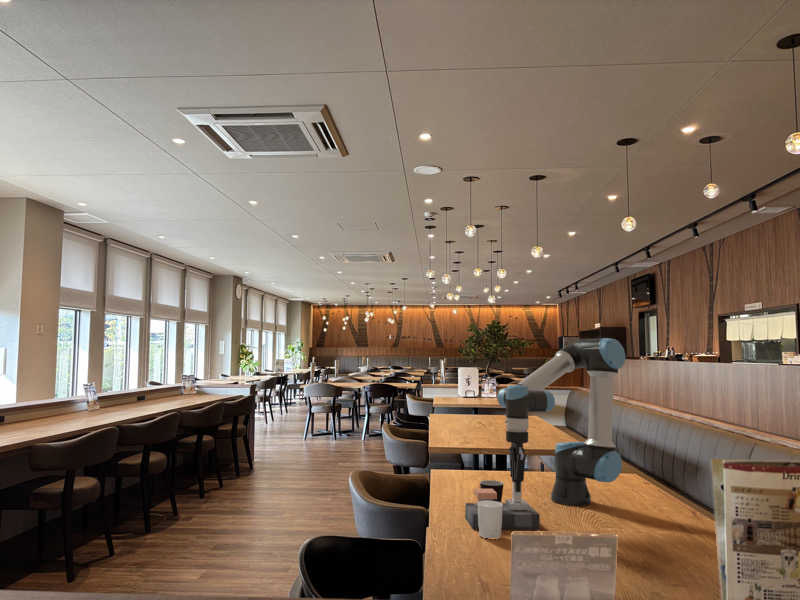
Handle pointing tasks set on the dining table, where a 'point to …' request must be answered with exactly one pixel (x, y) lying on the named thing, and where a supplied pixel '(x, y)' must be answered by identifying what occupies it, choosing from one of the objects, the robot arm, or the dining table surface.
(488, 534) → the white cup
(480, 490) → the salmon orange cube
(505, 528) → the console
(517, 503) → the light grey cube
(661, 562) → the dining table surface
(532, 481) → the dining table surface
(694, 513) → the dining table surface
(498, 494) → the coffee mug
